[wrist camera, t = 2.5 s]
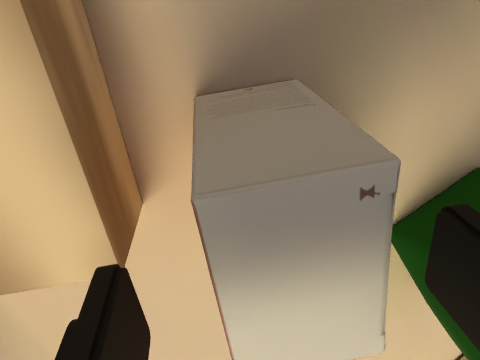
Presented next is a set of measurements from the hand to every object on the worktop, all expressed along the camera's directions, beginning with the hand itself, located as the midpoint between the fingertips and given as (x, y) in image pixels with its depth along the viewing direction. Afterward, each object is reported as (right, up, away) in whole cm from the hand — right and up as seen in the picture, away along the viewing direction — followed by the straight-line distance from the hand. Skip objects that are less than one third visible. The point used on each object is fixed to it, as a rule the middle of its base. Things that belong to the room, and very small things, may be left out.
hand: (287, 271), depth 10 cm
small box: (0, +4, +10) cm, 10 cm away
